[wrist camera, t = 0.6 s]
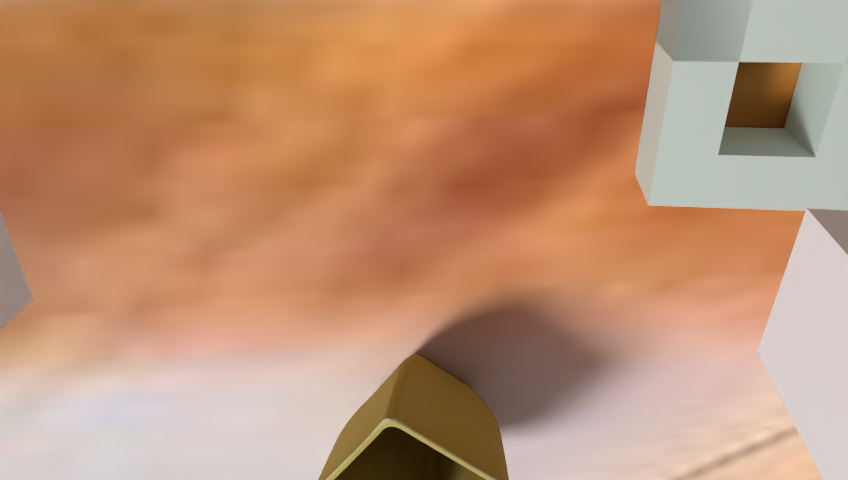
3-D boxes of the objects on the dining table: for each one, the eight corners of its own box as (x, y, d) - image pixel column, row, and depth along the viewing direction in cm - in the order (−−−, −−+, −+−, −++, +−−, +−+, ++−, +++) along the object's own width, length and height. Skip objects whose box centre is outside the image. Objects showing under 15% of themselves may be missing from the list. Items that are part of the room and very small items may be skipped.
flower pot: (409, 318, 42) (387, 417, 35) (512, 384, 44) (514, 492, 37) (341, 393, 47) (308, 497, 39) (438, 451, 48) (425, 561, 41)
